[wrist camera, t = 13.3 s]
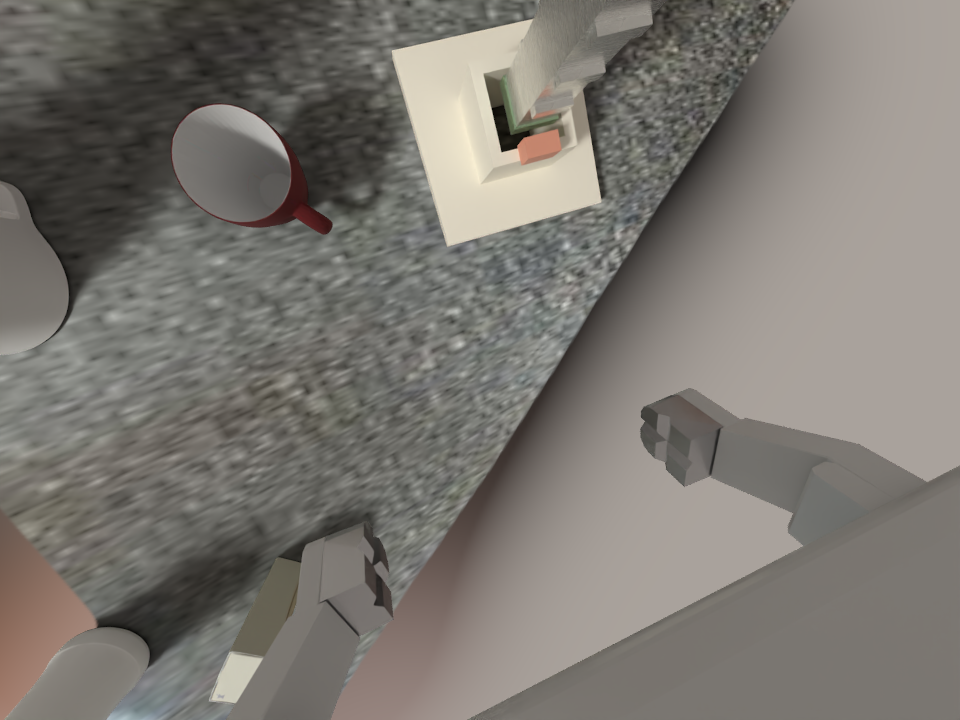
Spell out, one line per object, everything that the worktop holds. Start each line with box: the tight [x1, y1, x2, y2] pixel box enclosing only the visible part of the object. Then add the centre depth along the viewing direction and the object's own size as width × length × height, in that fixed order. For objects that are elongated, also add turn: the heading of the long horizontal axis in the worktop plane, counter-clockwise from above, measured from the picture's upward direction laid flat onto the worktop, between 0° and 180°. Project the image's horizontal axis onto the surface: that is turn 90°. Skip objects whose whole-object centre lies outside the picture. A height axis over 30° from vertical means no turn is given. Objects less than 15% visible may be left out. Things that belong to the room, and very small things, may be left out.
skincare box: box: [209, 557, 301, 705], centre depth 40 cm, size 6×4×12 cm
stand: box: [392, 19, 601, 247], centre depth 34 cm, size 18×18×10 cm
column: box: [500, 0, 667, 135], centre depth 20 cm, size 6×5×24 cm
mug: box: [171, 103, 333, 235], centre depth 31 cm, size 10×8×10 cm
